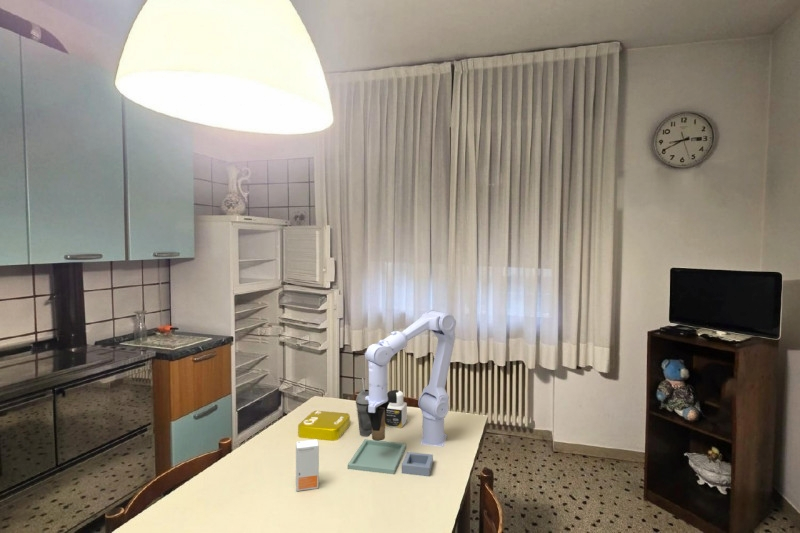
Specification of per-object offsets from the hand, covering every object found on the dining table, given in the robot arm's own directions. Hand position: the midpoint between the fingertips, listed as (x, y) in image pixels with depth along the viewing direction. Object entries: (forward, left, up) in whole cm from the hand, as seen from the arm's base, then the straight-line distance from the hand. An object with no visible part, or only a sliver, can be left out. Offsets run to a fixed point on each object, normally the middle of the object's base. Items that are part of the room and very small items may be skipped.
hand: (378, 427), depth 129 cm
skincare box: (+18, -15, -10) cm, 26 cm away
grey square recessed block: (+3, +13, -10) cm, 17 cm away
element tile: (-16, -24, -11) cm, 31 cm away
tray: (0, 0, -10) cm, 10 cm away
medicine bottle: (-28, -1, -10) cm, 29 cm away
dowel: (0, 0, -3) cm, 3 cm away
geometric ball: (-33, -14, -10) cm, 37 cm away
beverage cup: (-17, -9, -10) cm, 21 cm away
